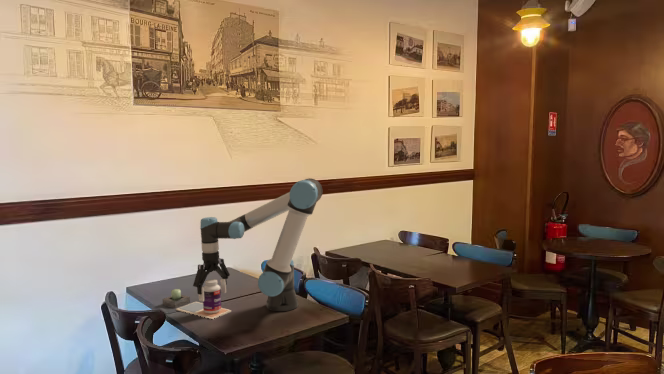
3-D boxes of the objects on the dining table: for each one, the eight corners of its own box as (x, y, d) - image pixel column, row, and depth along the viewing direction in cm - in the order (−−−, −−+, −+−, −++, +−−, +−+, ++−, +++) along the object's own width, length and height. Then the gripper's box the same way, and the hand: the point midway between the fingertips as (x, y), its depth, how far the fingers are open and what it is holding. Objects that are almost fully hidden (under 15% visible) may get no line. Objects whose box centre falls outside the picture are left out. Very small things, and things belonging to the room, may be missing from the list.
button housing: (190, 302, 235) (189, 296, 234) (175, 308, 227) (174, 302, 227) (177, 299, 240) (177, 293, 239) (162, 305, 232) (162, 299, 232)
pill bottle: (216, 315, 215) (215, 283, 214) (200, 314, 217) (199, 283, 215) (224, 308, 223) (223, 278, 222) (208, 307, 225) (207, 278, 223)
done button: (182, 297, 234) (182, 289, 233) (175, 300, 230) (175, 292, 230) (176, 296, 236) (176, 288, 236) (169, 298, 232) (169, 290, 232)
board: (231, 311, 222) (231, 309, 222) (212, 319, 212) (212, 318, 212) (195, 302, 235) (195, 301, 235) (176, 310, 225) (176, 308, 224)
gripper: (224, 245, 230) (226, 288, 232) (183, 256, 209) (186, 303, 211) (235, 246, 226) (238, 290, 228) (194, 258, 205) (197, 306, 207)
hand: (213, 296), depth 219 cm, fingers open, 13 cm apart
